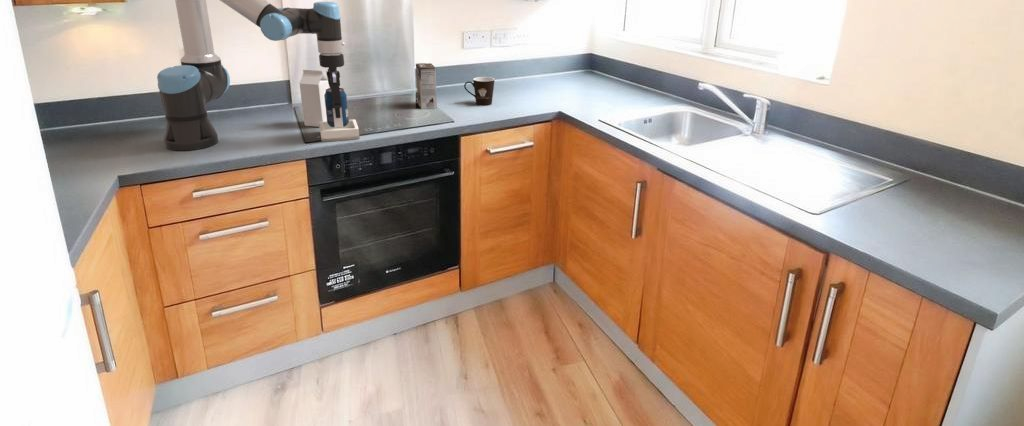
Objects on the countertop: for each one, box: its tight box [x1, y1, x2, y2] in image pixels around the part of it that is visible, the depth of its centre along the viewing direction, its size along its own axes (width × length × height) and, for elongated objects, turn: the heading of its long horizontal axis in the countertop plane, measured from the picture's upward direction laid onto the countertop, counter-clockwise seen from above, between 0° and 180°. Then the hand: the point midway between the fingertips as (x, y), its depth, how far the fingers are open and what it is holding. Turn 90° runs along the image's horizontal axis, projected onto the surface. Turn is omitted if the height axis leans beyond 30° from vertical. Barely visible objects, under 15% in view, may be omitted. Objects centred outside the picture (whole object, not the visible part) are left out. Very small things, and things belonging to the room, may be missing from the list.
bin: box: [319, 119, 360, 143], centre depth 201 cm, size 12×12×4 cm
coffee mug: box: [463, 76, 495, 107], centre depth 244 cm, size 12×9×10 cm
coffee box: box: [415, 62, 438, 110], centre depth 237 cm, size 9×6×16 cm
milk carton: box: [298, 69, 330, 128], centre depth 210 cm, size 7×7×19 cm
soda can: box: [324, 87, 350, 128], centre depth 198 cm, size 7×7×12 cm
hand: (338, 123), depth 200 cm, fingers closed on soda can, 7 cm apart
